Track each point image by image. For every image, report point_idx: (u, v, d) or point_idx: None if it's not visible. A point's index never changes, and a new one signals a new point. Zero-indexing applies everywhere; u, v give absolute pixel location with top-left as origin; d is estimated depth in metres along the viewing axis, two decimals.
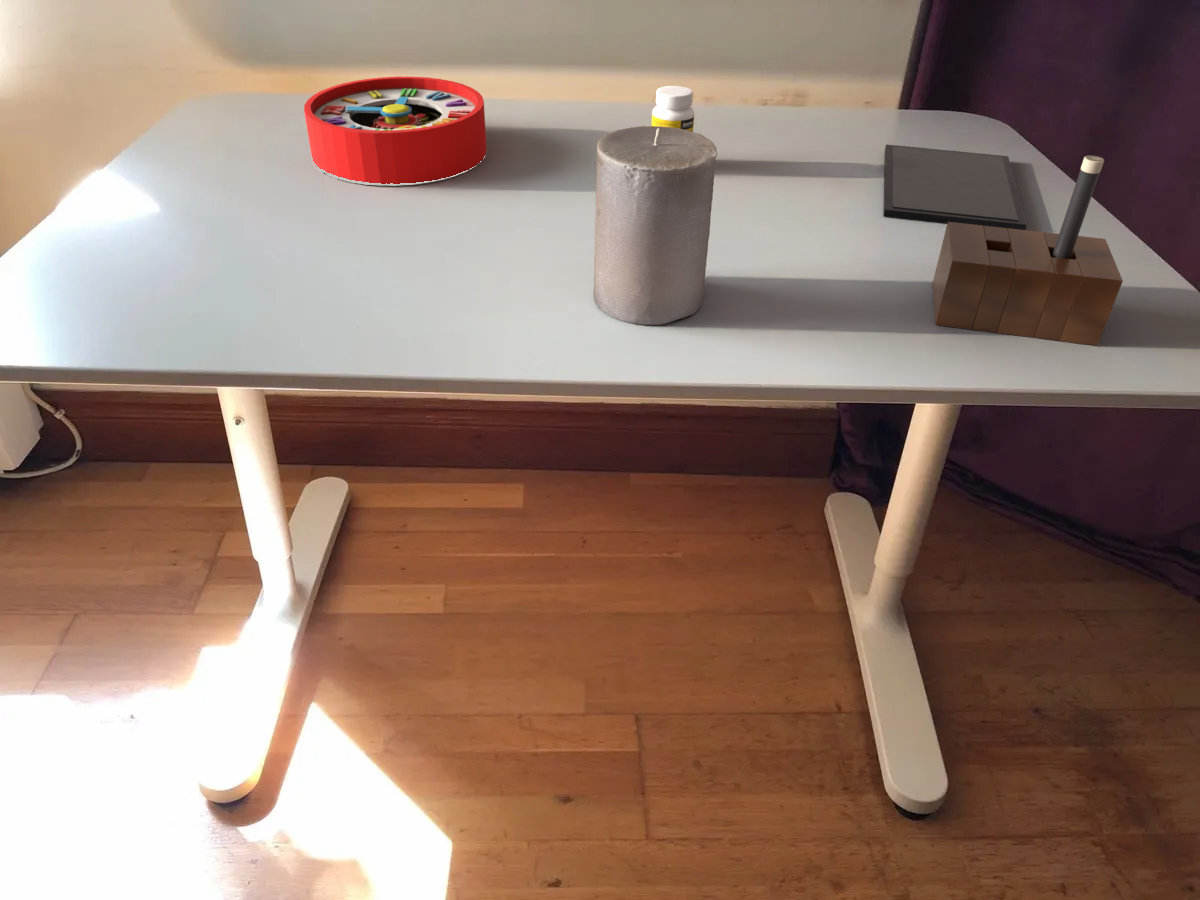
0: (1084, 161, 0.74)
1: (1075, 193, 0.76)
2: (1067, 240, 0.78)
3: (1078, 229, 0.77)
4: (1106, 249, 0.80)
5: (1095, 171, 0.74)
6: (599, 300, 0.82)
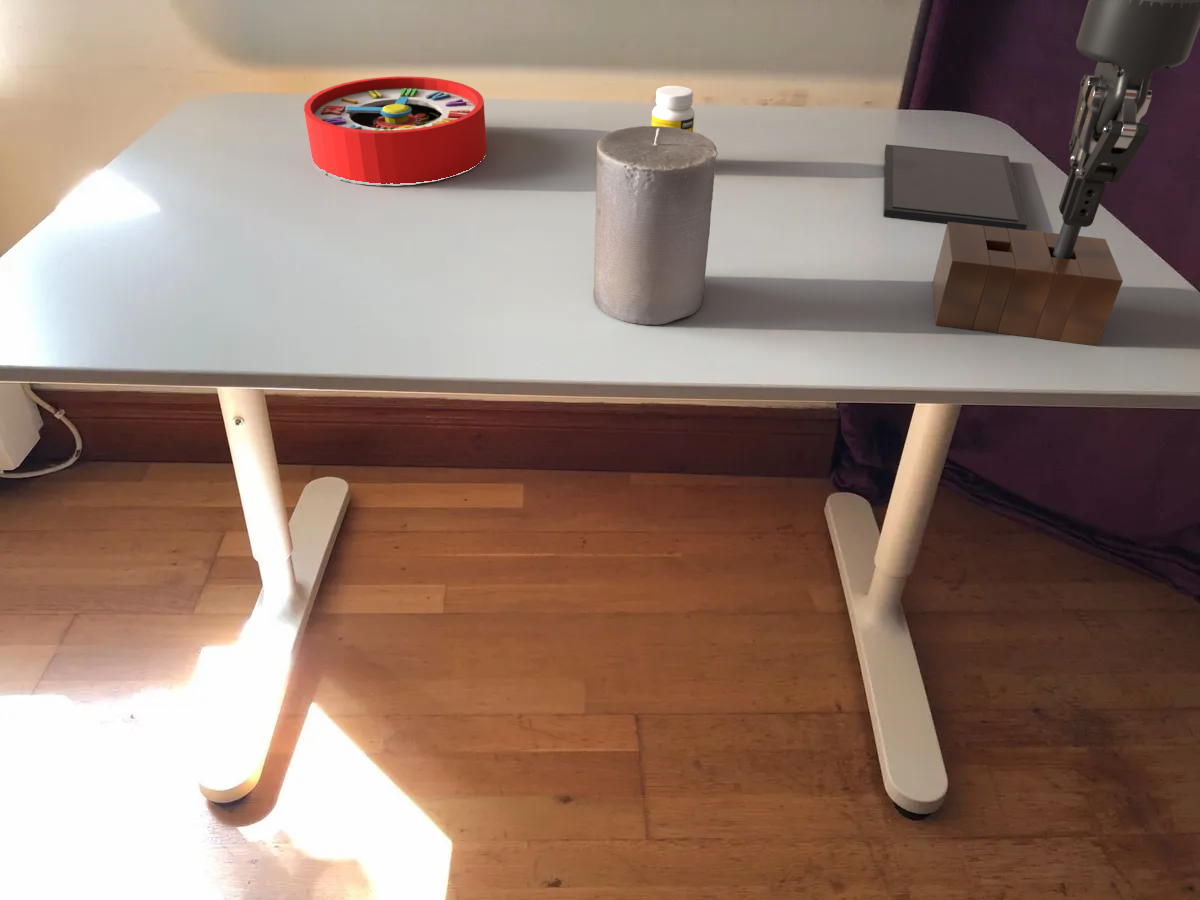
0: None
1: None
2: (1067, 240, 0.78)
3: (1078, 229, 0.77)
4: (1106, 249, 0.80)
5: None
6: (599, 300, 0.82)
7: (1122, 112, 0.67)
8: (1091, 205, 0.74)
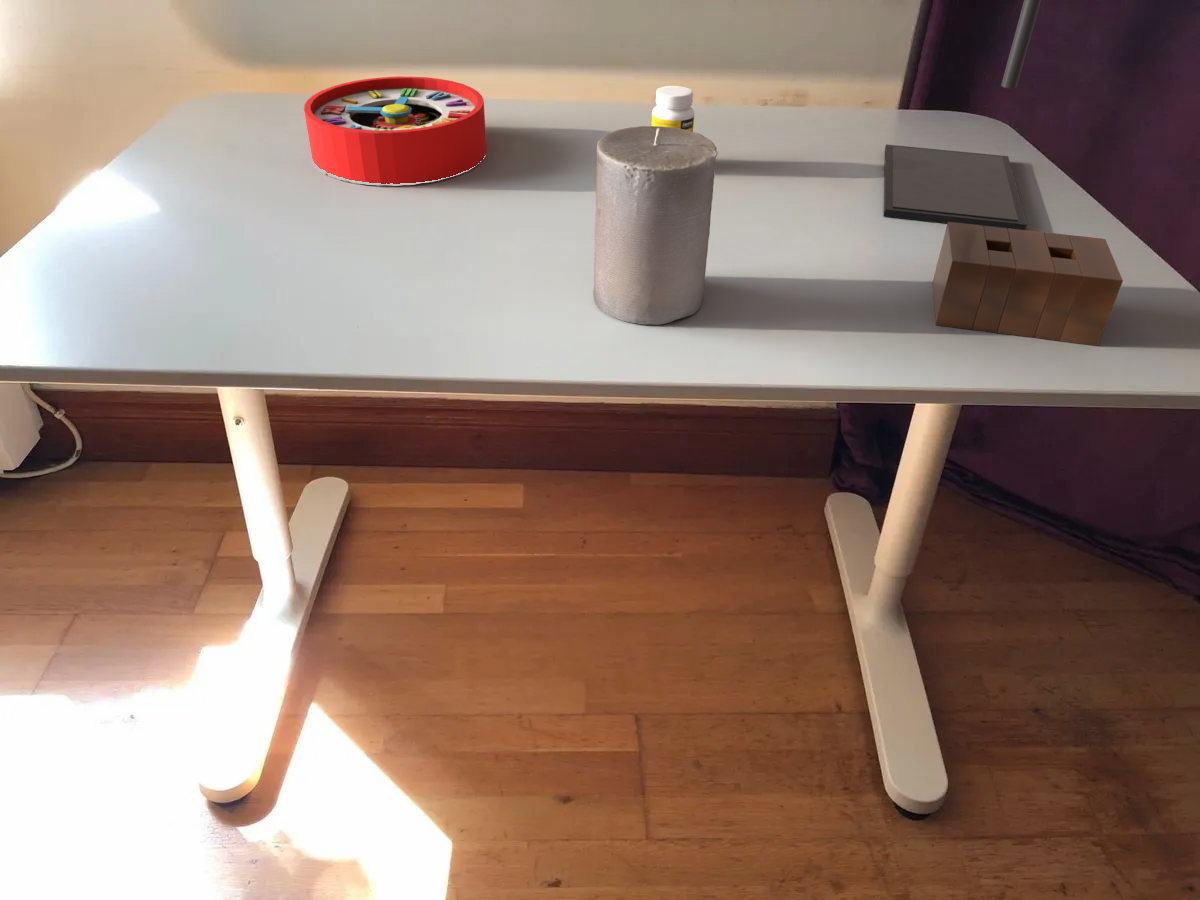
0: None
1: None
2: (1031, 4, 0.86)
3: None
4: (1106, 249, 0.80)
5: None
6: (599, 300, 0.82)
7: None
8: None
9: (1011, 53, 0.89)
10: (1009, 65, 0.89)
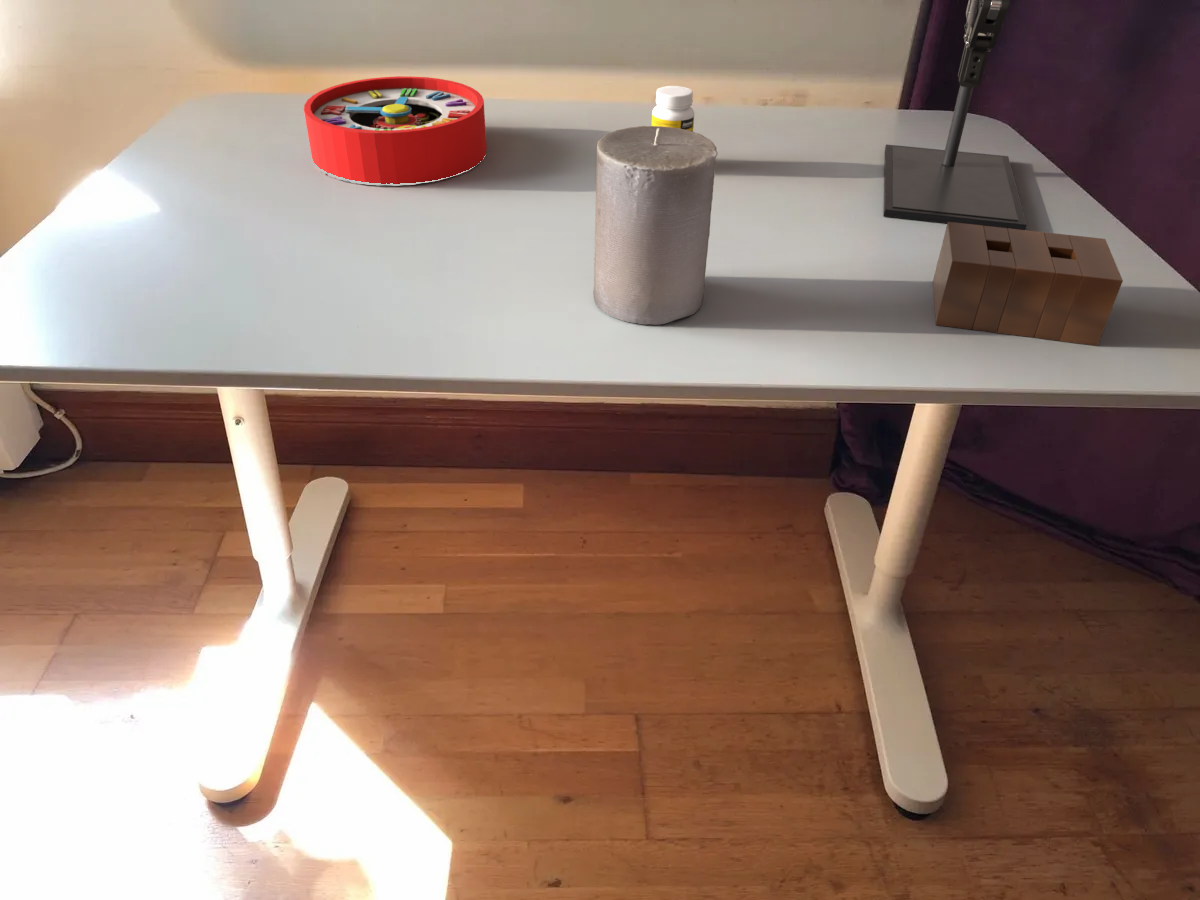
0: None
1: None
2: (963, 99, 1.04)
3: (970, 90, 1.03)
4: (1106, 249, 0.80)
5: None
6: (599, 300, 0.82)
7: None
8: (978, 69, 1.00)
9: (949, 137, 1.07)
10: (947, 147, 1.07)
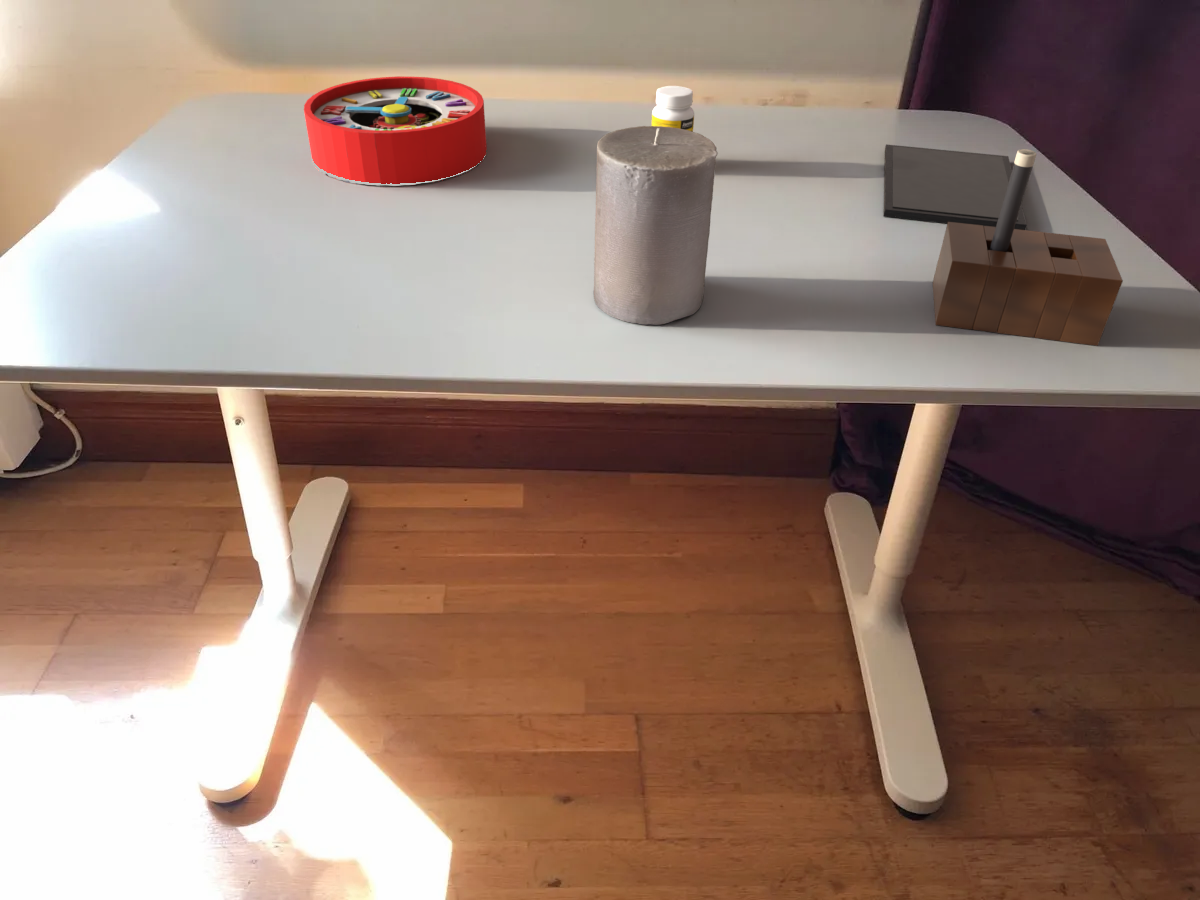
0: (1017, 155, 0.75)
1: (1009, 186, 0.77)
2: (1003, 233, 0.79)
3: (1013, 222, 0.78)
4: (1106, 249, 0.80)
5: (1028, 164, 0.75)
6: (599, 300, 0.82)
7: None
8: None
9: None
10: None
